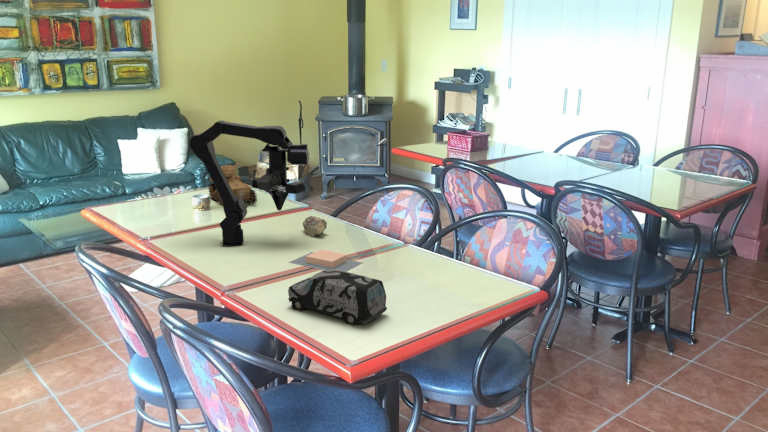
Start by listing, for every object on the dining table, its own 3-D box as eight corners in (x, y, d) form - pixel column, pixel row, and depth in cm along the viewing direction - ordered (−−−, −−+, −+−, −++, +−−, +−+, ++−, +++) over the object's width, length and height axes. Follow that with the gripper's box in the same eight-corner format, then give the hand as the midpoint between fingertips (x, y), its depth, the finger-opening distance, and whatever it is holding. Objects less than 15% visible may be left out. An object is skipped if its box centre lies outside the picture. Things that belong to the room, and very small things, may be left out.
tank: (229, 211, 261) (227, 175, 257) (208, 197, 283) (206, 164, 280) (258, 207, 268) (256, 172, 264) (235, 194, 290) (234, 162, 286)
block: (305, 256, 197) (332, 261, 192) (321, 249, 204) (346, 254, 199) (305, 263, 198) (332, 269, 193) (321, 256, 204) (347, 261, 200)
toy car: (311, 295, 174) (310, 260, 171) (388, 315, 162) (388, 278, 159) (286, 308, 165) (284, 272, 163) (365, 330, 153) (365, 291, 150)
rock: (322, 224, 221) (332, 213, 230) (292, 221, 224) (303, 210, 233) (324, 242, 224) (333, 230, 233) (294, 239, 227) (305, 228, 236)
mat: (288, 263, 199) (288, 262, 199) (311, 253, 209) (311, 252, 209) (341, 275, 189) (341, 274, 189) (363, 263, 199) (363, 262, 199)
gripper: (239, 165, 209) (242, 211, 213) (284, 171, 199) (285, 219, 203) (262, 160, 218) (264, 204, 222) (305, 166, 209) (306, 212, 213)
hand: (279, 210), depth 215 cm, fingers closed
